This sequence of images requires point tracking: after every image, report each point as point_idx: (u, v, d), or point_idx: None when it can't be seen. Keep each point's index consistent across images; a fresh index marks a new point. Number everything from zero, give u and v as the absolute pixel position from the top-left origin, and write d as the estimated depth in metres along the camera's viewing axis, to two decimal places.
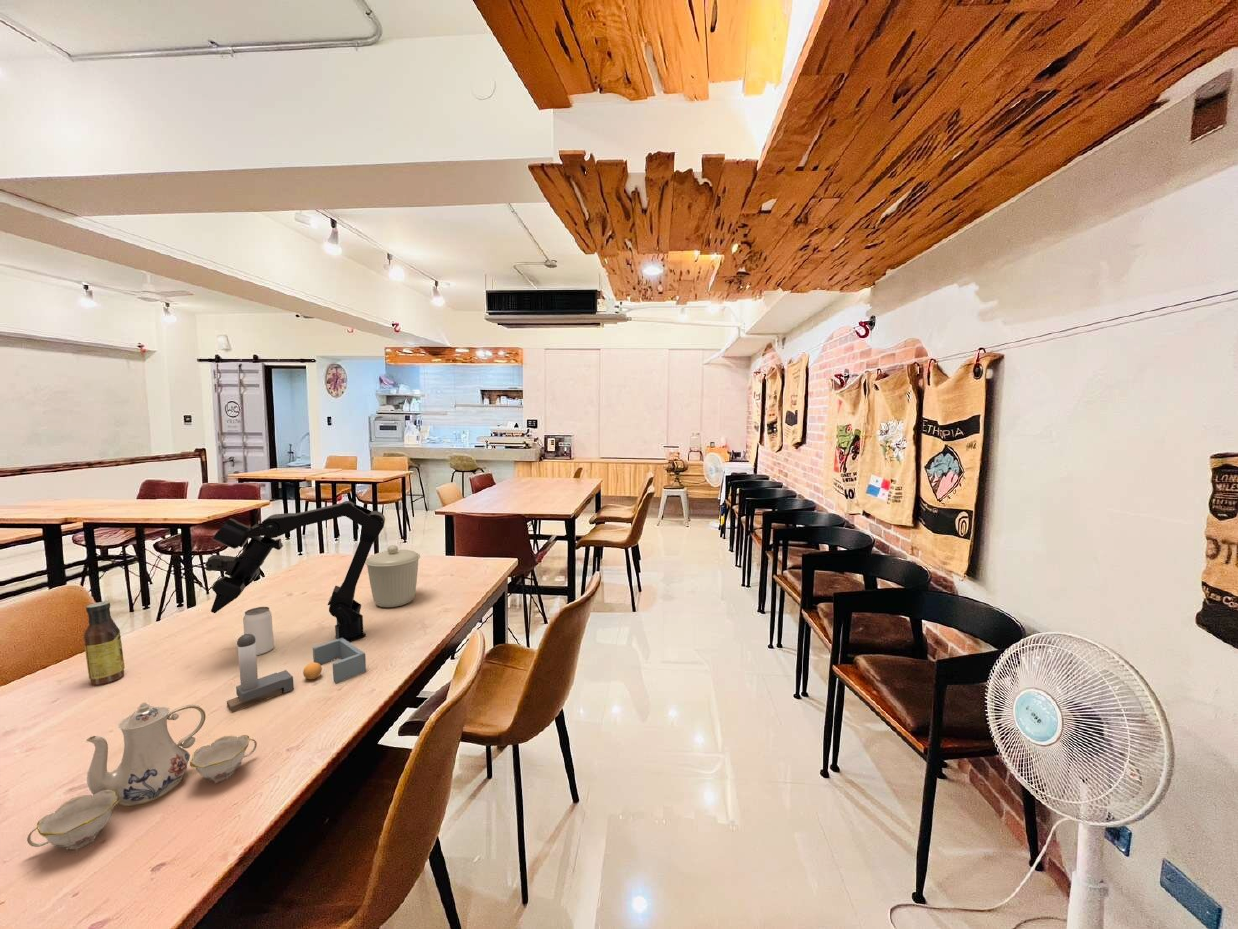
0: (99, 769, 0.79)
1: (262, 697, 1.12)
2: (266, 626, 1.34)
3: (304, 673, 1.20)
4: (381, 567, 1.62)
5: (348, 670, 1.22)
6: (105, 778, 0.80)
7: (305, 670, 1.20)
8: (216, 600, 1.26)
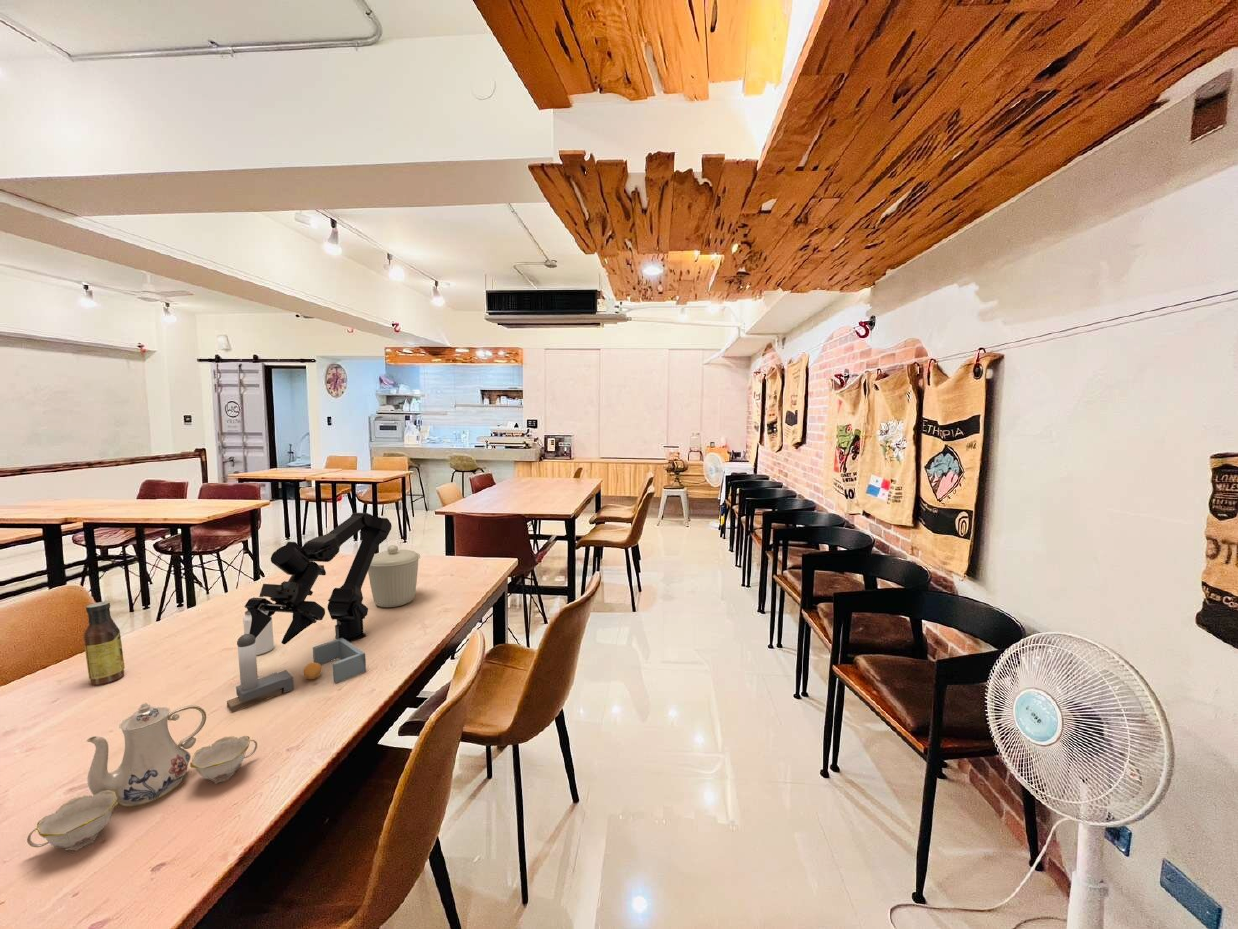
0: (100, 769, 0.79)
1: (262, 697, 1.12)
2: (266, 626, 1.34)
3: (304, 673, 1.20)
4: (381, 567, 1.62)
5: (348, 670, 1.22)
6: (105, 778, 0.80)
7: (305, 670, 1.20)
8: (293, 628, 1.16)
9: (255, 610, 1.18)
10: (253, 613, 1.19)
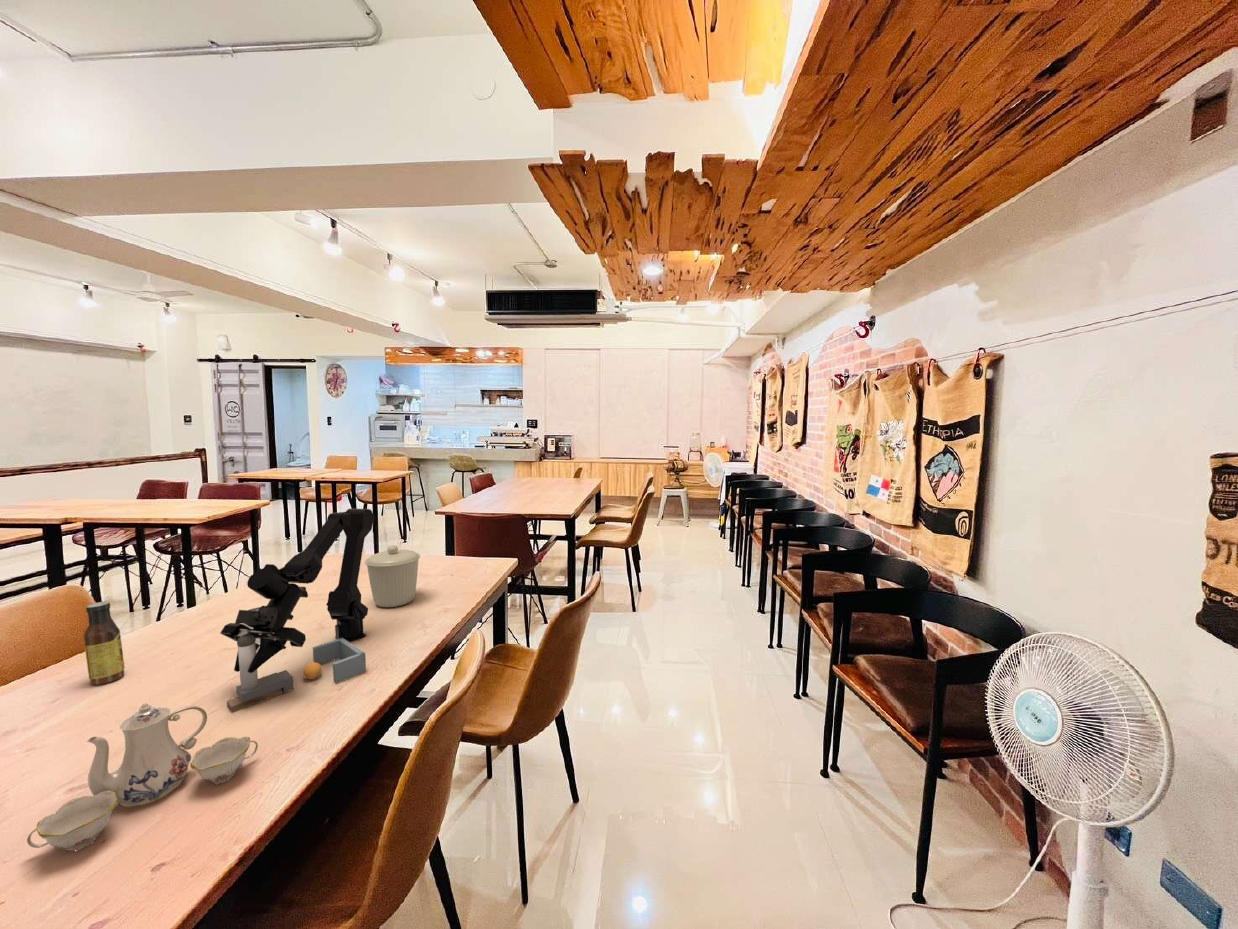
0: (100, 770, 0.79)
1: (262, 697, 1.12)
2: None
3: (304, 673, 1.20)
4: (381, 567, 1.62)
5: (348, 670, 1.22)
6: (105, 779, 0.79)
7: (305, 670, 1.20)
8: (261, 655, 1.11)
9: None
10: None
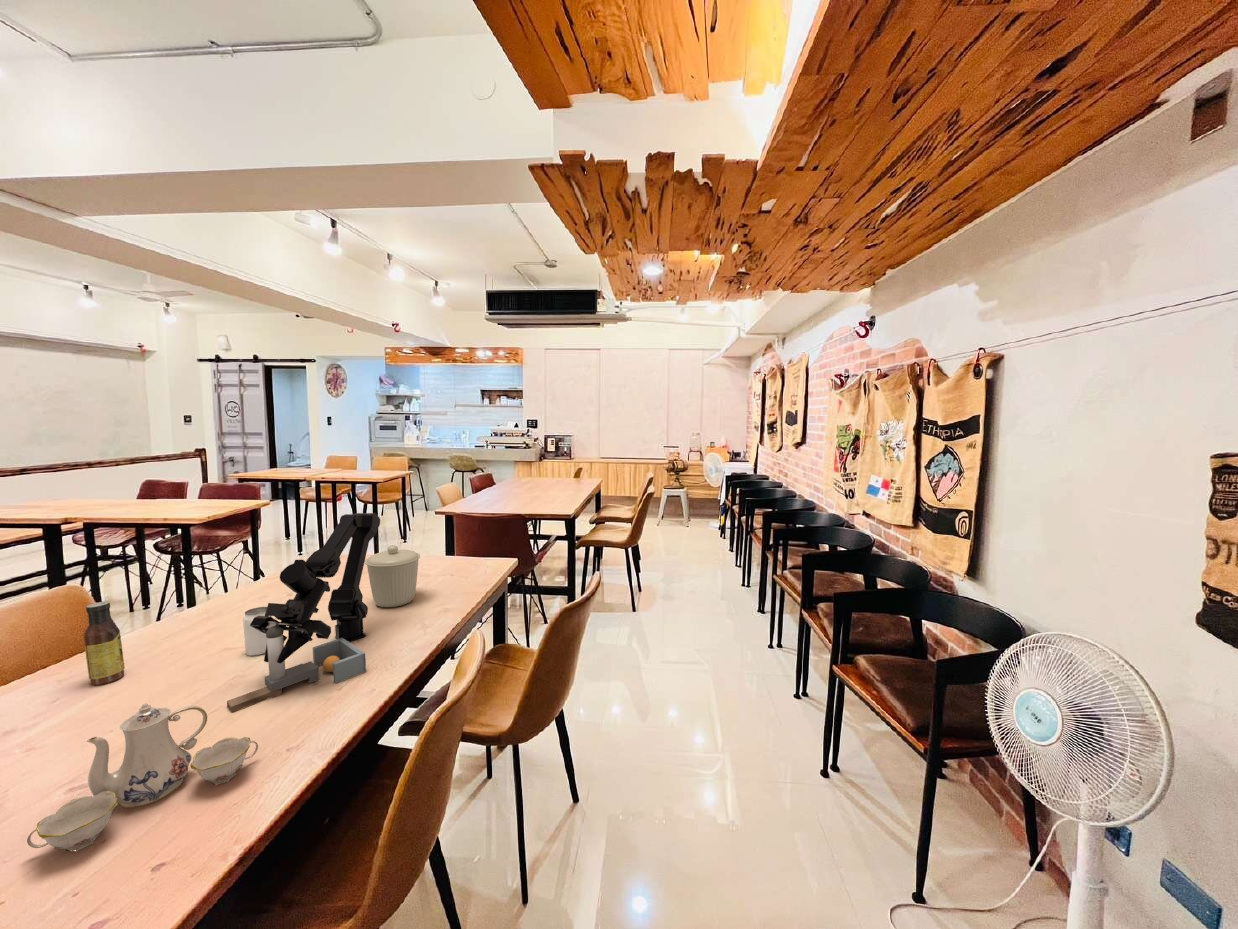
0: (100, 770, 0.79)
1: (262, 697, 1.12)
2: None
3: (336, 656, 1.26)
4: (381, 567, 1.62)
5: (348, 670, 1.22)
6: (105, 779, 0.79)
7: None
8: (289, 646, 1.15)
9: None
10: None
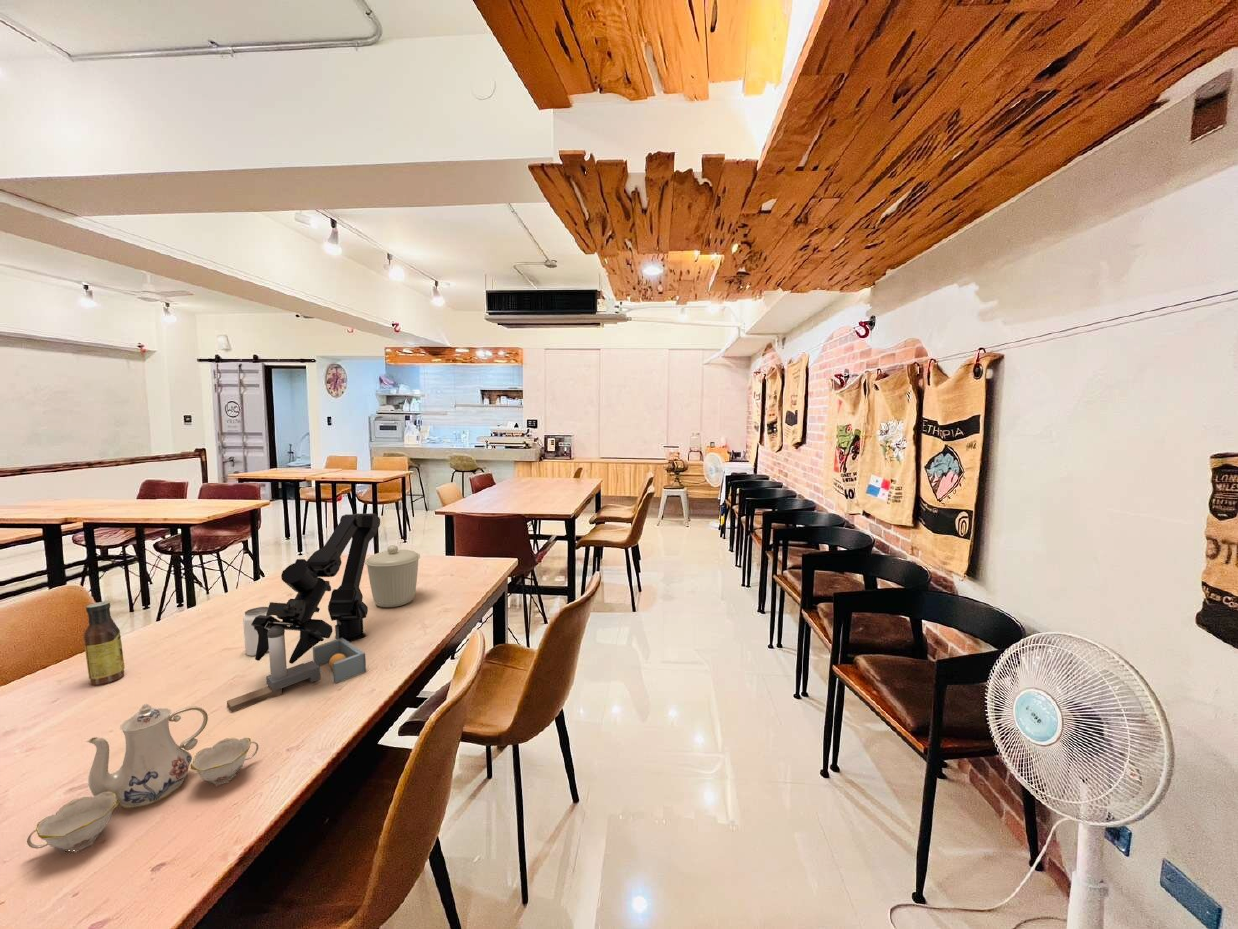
0: (100, 770, 0.79)
1: (262, 697, 1.12)
2: None
3: None
4: (381, 567, 1.62)
5: (348, 670, 1.22)
6: (106, 780, 0.79)
7: None
8: (301, 647, 1.15)
9: (262, 628, 1.17)
10: (260, 631, 1.17)
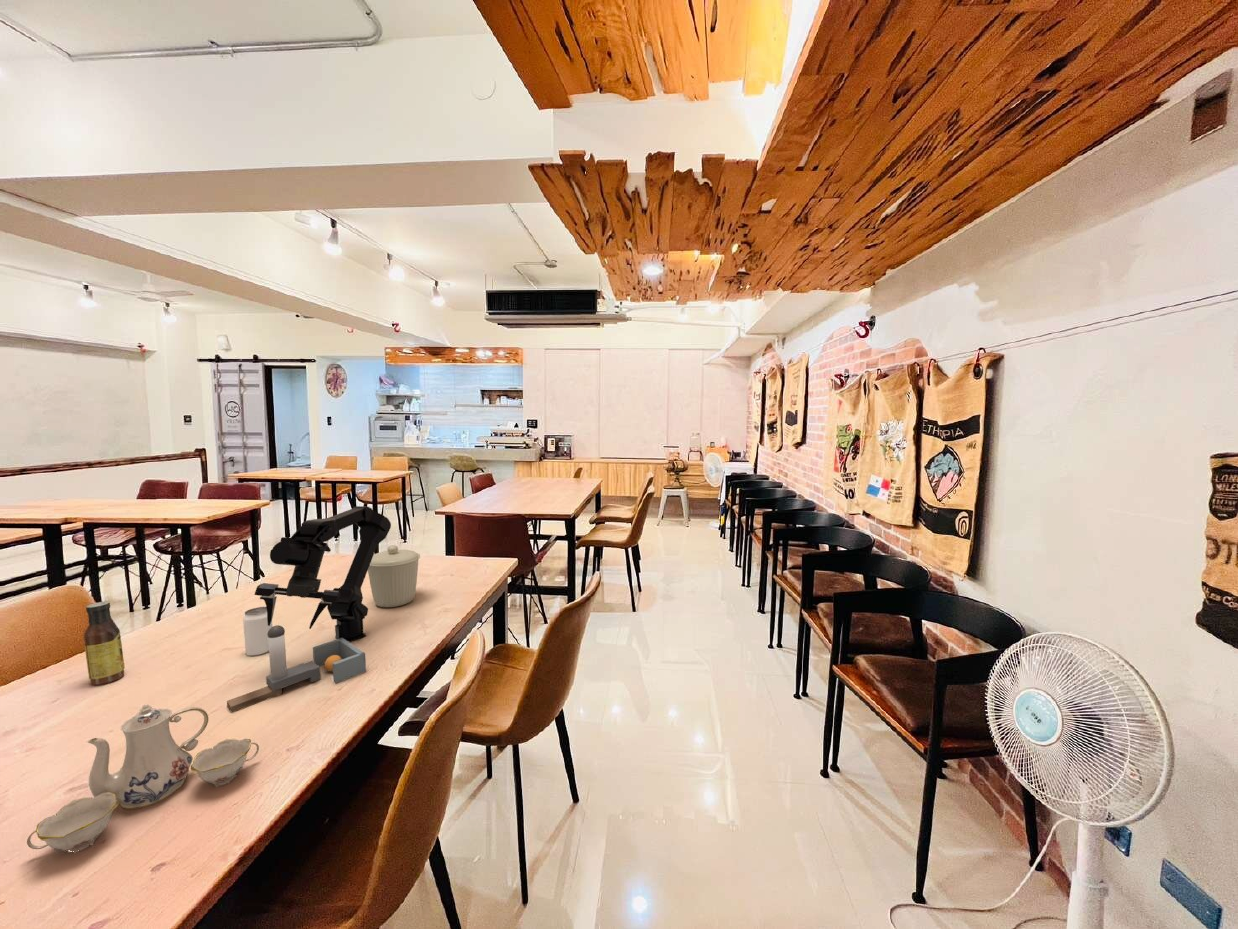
0: (100, 771, 0.79)
1: (262, 697, 1.12)
2: (266, 626, 1.34)
3: (339, 656, 1.26)
4: (381, 567, 1.62)
5: (348, 670, 1.22)
6: (106, 780, 0.79)
7: None
8: None
9: (271, 599, 1.21)
10: (268, 601, 1.21)
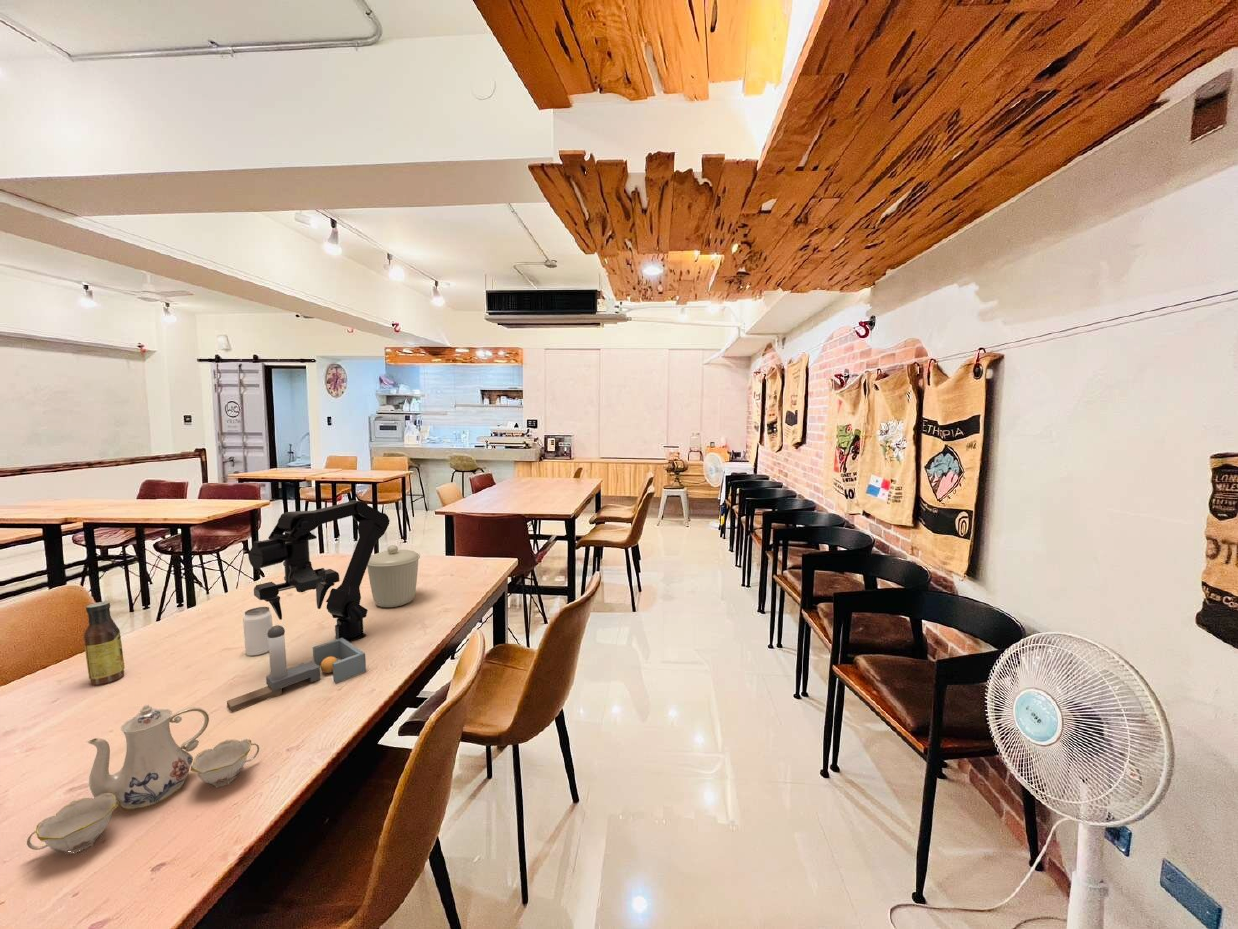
0: (101, 771, 0.79)
1: (262, 697, 1.12)
2: (266, 626, 1.34)
3: (332, 657, 1.25)
4: (381, 567, 1.62)
5: (348, 670, 1.22)
6: (106, 781, 0.79)
7: (335, 658, 1.25)
8: None
9: (278, 598, 1.24)
10: (275, 601, 1.24)
